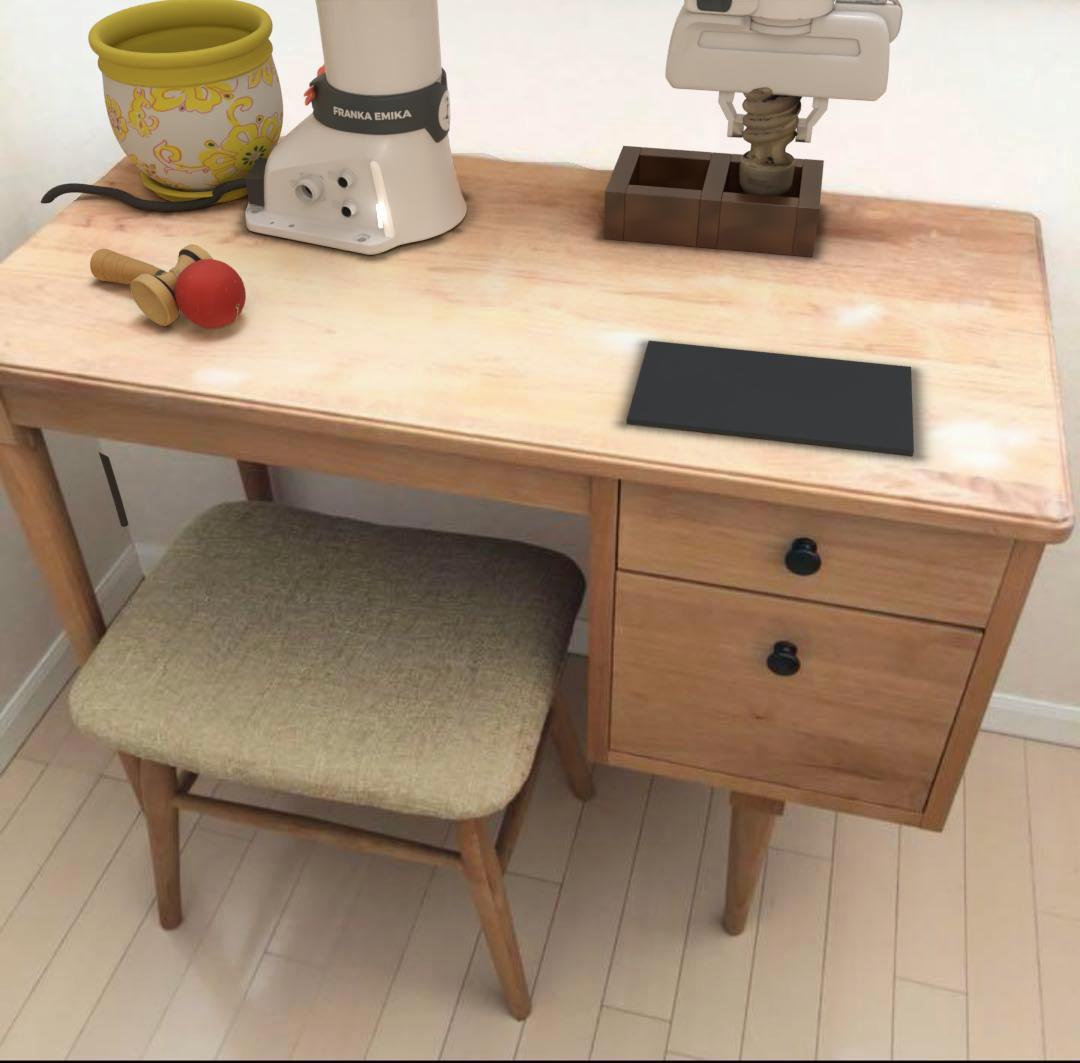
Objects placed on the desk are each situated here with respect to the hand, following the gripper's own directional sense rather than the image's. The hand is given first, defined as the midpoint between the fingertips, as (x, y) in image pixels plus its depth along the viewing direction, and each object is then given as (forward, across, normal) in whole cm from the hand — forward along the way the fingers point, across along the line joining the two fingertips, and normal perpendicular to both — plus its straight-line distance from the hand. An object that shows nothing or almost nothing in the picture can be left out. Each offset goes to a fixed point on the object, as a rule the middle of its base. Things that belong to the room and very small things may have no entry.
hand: (768, 137), depth 116 cm
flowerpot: (+9, +59, 0) cm, 60 cm away
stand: (+9, +5, 0) cm, 10 cm away
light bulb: (+9, 0, 0) cm, 9 cm away
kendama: (+9, +52, +26) cm, 59 cm away
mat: (+9, -3, +30) cm, 32 cm away
